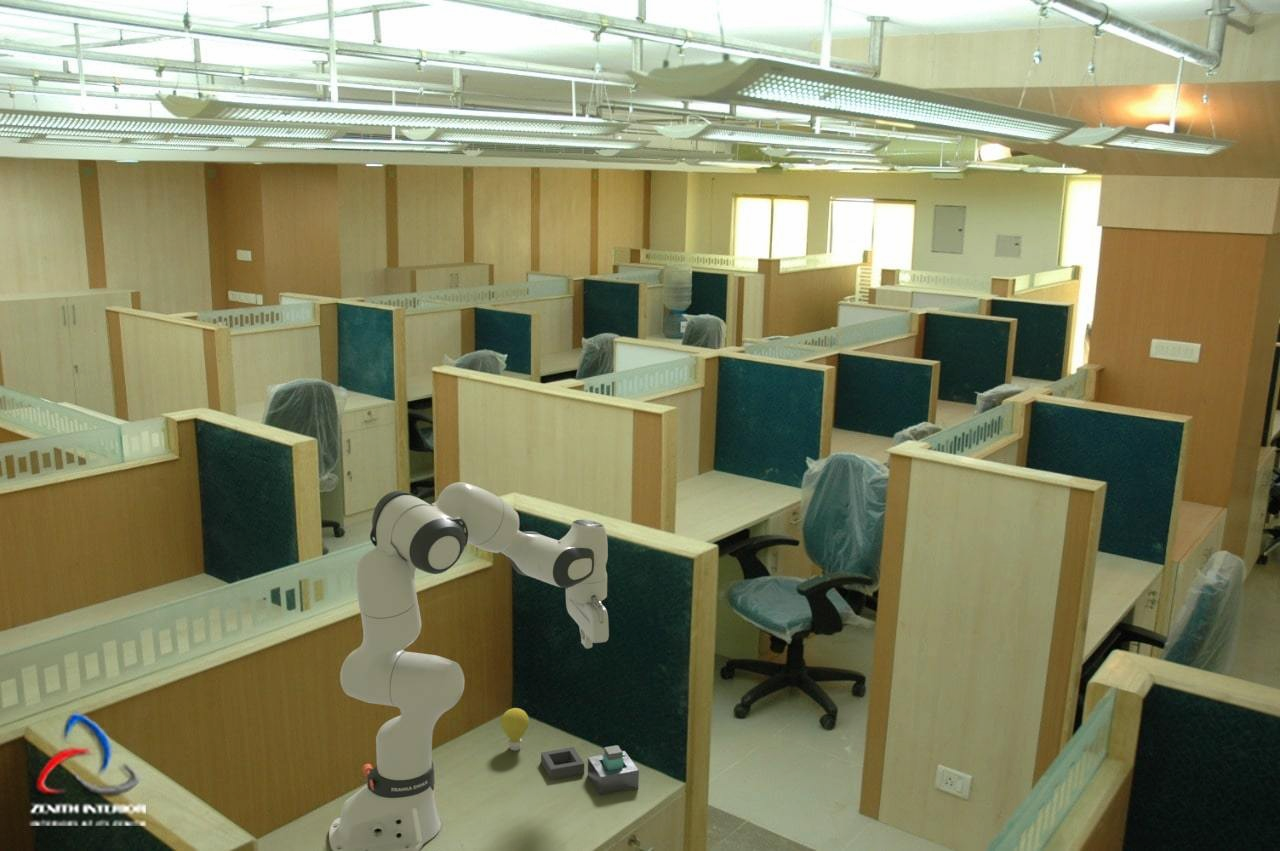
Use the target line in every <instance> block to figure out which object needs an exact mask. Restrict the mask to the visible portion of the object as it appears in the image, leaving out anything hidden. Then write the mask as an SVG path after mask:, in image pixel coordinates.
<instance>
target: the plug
mask: <svg viewBox="0 0 1280 851" xmlns="http://www.w3.org/2000/svg"><path fill="white" fill-rule="evenodd" d="M622 751H623V750H622V749H621V748H620V746H619V745H616V744H615V745H611V746H605V747H604V749H603V753H602V755H603V767H604V768H605V770H606V771H609V770H615V769H620V768H623V757H622Z"/></svg>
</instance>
